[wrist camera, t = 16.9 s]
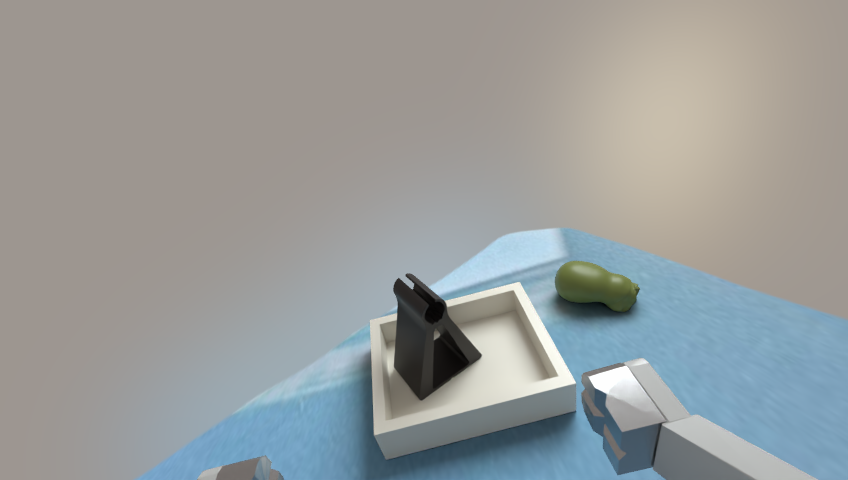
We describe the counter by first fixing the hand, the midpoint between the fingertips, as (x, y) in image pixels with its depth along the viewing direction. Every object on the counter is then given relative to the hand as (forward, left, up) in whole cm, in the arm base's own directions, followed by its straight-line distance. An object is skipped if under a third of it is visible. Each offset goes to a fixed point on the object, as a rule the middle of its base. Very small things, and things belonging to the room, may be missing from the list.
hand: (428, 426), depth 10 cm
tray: (+2, +25, -30) cm, 39 cm away
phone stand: (-1, +27, -29) cm, 40 cm away
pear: (+21, +31, -30) cm, 49 cm away
